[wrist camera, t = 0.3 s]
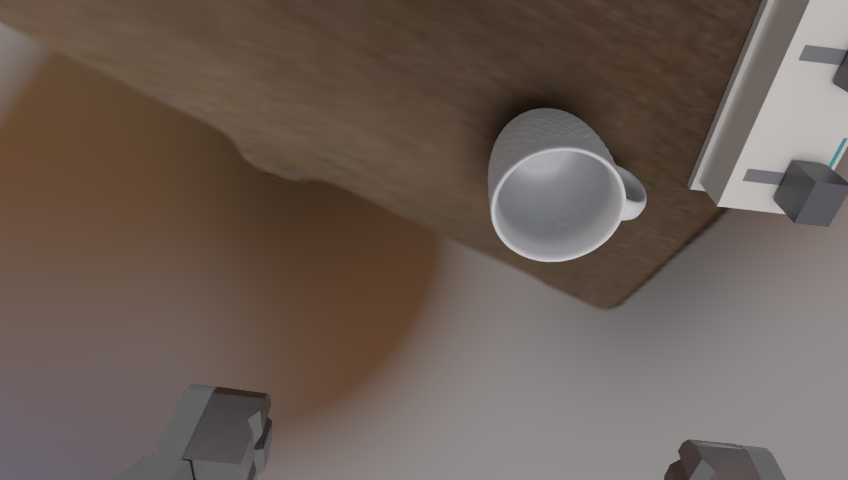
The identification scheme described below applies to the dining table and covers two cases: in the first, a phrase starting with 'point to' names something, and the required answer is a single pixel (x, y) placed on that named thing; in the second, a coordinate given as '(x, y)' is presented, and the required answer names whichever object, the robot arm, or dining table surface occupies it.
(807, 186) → the slider
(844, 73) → the slider middle
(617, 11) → the dining table surface
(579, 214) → the mug
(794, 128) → the switch unit
